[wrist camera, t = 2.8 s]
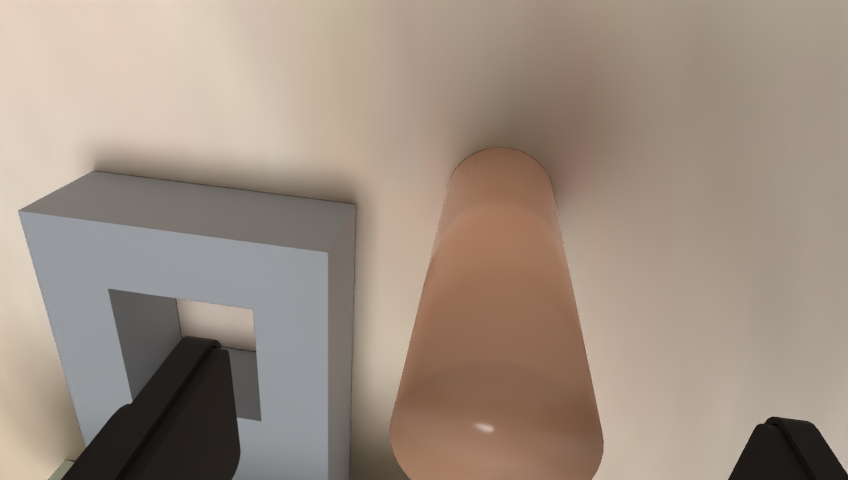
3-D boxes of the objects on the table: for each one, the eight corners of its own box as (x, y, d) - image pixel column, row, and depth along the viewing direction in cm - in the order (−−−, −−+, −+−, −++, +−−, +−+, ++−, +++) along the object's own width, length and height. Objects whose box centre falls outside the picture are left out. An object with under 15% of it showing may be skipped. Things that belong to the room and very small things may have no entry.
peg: (562, 154, 20) (627, 380, 9) (542, 251, 22) (578, 530, 11) (452, 141, 20) (395, 346, 10) (441, 238, 22) (384, 498, 12)
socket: (356, 204, 22) (328, 252, 18) (348, 499, 30) (328, 571, 27) (93, 170, 23) (17, 210, 19) (154, 466, 31) (109, 532, 27)
